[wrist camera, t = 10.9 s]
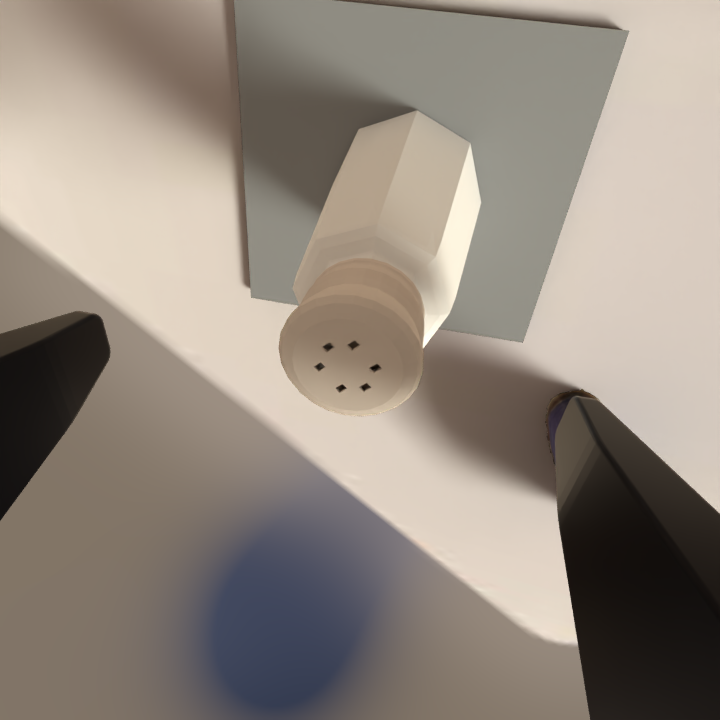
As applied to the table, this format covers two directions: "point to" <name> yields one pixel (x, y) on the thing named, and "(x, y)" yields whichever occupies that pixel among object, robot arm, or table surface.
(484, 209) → the mat
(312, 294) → the pepper shaker
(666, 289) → the table surface
